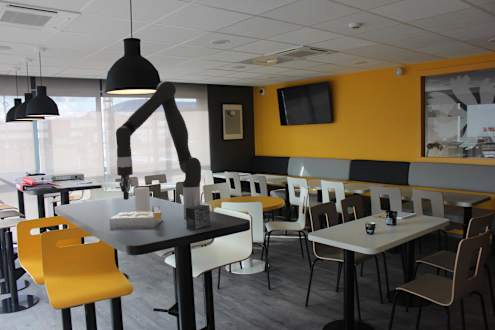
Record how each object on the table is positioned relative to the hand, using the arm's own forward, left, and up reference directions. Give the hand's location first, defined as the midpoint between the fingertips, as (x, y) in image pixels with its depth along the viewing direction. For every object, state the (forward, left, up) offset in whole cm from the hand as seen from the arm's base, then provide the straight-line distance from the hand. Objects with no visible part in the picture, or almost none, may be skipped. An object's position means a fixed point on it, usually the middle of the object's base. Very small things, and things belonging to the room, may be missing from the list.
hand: (126, 199), depth 204 cm
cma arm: (-17, +9, -7) cm, 21 cm away
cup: (-2, -25, -13) cm, 28 cm away
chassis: (-5, 0, -13) cm, 14 cm away
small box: (-38, +13, -13) cm, 42 cm away
